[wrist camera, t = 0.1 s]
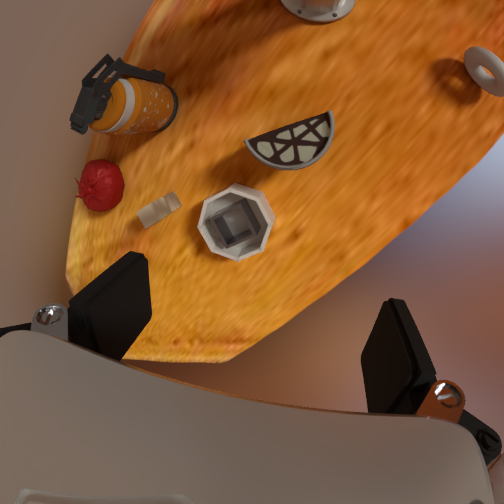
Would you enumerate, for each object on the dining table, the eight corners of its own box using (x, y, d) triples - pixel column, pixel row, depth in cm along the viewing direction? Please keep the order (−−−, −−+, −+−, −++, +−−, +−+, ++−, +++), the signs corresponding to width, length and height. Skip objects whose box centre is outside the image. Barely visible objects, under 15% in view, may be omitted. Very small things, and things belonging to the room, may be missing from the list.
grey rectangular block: (161, 198, 50) (136, 212, 42) (173, 191, 49) (149, 203, 41) (169, 212, 51) (145, 228, 42) (181, 205, 50) (159, 220, 42)
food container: (267, 174, 45) (258, 185, 36) (253, 139, 43) (240, 141, 34) (339, 150, 41) (350, 155, 32) (326, 114, 40) (333, 109, 30)
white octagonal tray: (196, 202, 49) (186, 209, 45) (253, 173, 45) (248, 177, 41) (227, 257, 52) (220, 268, 48) (284, 233, 49) (282, 243, 44)
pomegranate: (130, 157, 48) (100, 164, 39) (131, 208, 52) (103, 223, 43) (92, 156, 49) (61, 164, 40) (93, 203, 53) (64, 217, 44)
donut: (493, 91, 30) (525, 88, 21) (486, 101, 31) (518, 100, 22) (459, 49, 29) (487, 37, 20) (451, 59, 30) (479, 47, 21)
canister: (128, 121, 45) (48, 126, 27) (153, 67, 40) (78, 46, 22) (166, 139, 45) (91, 150, 27) (194, 83, 41) (128, 60, 22)
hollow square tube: (216, 211, 48) (209, 218, 44) (245, 197, 46) (240, 203, 43) (232, 239, 50) (226, 249, 46) (261, 227, 48) (257, 235, 44)
